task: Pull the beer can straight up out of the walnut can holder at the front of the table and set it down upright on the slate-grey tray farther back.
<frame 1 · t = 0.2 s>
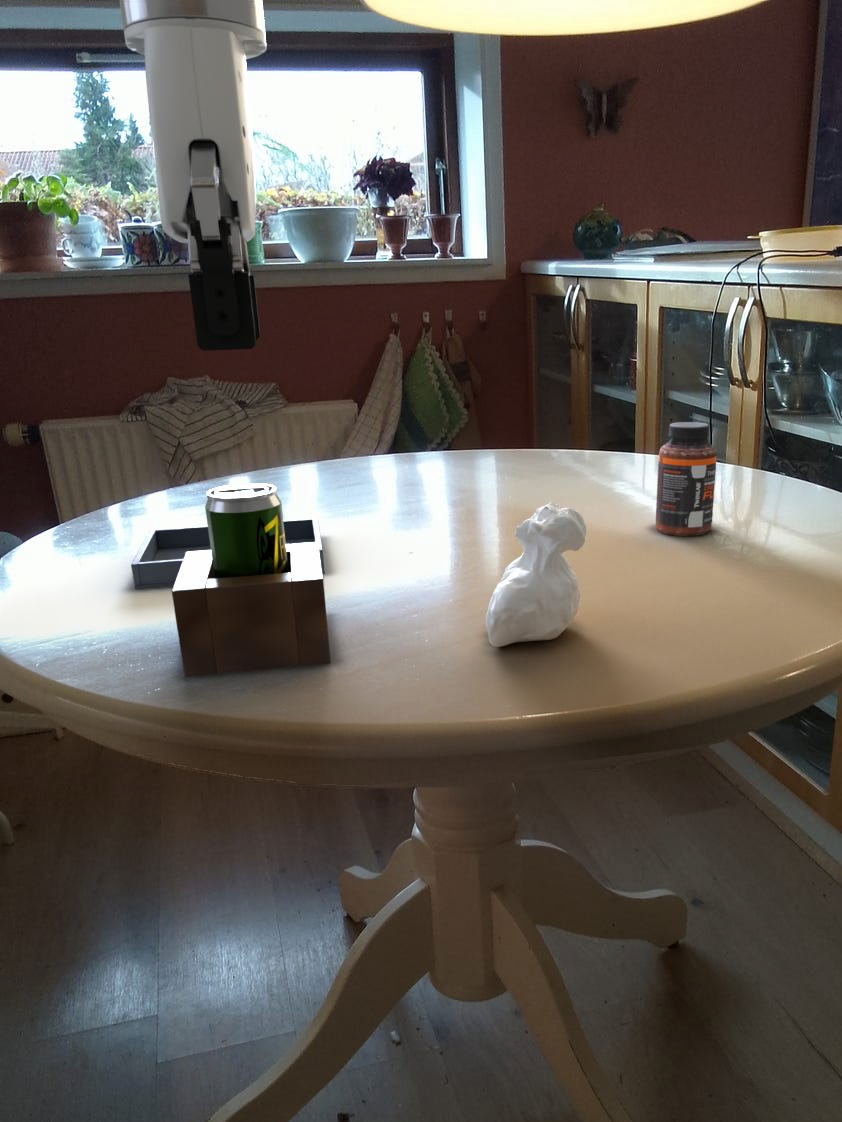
hand: (232, 344, 57), 22 cm above the table, tool pointing down, fingers open, 9 cm apart
can holder: (260, 646, 70), on the table
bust: (536, 636, 71), on the table
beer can: (260, 648, 70), resting in can holder
tray: (235, 563, 92), on the table
supplement bottle: (683, 532, 99), on the table
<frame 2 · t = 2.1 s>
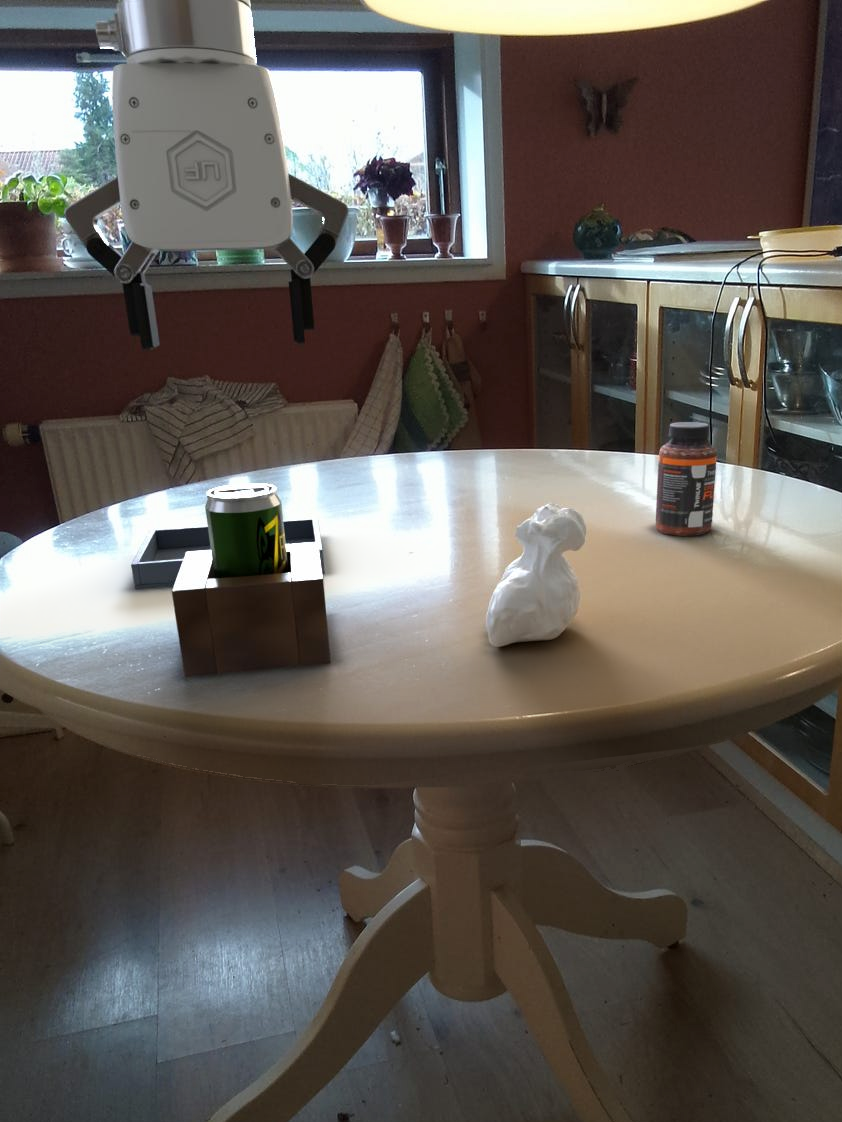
hand: (226, 345, 61), 22 cm above the table, tool pointing down, fingers open, 9 cm apart
nothing on the table moved.
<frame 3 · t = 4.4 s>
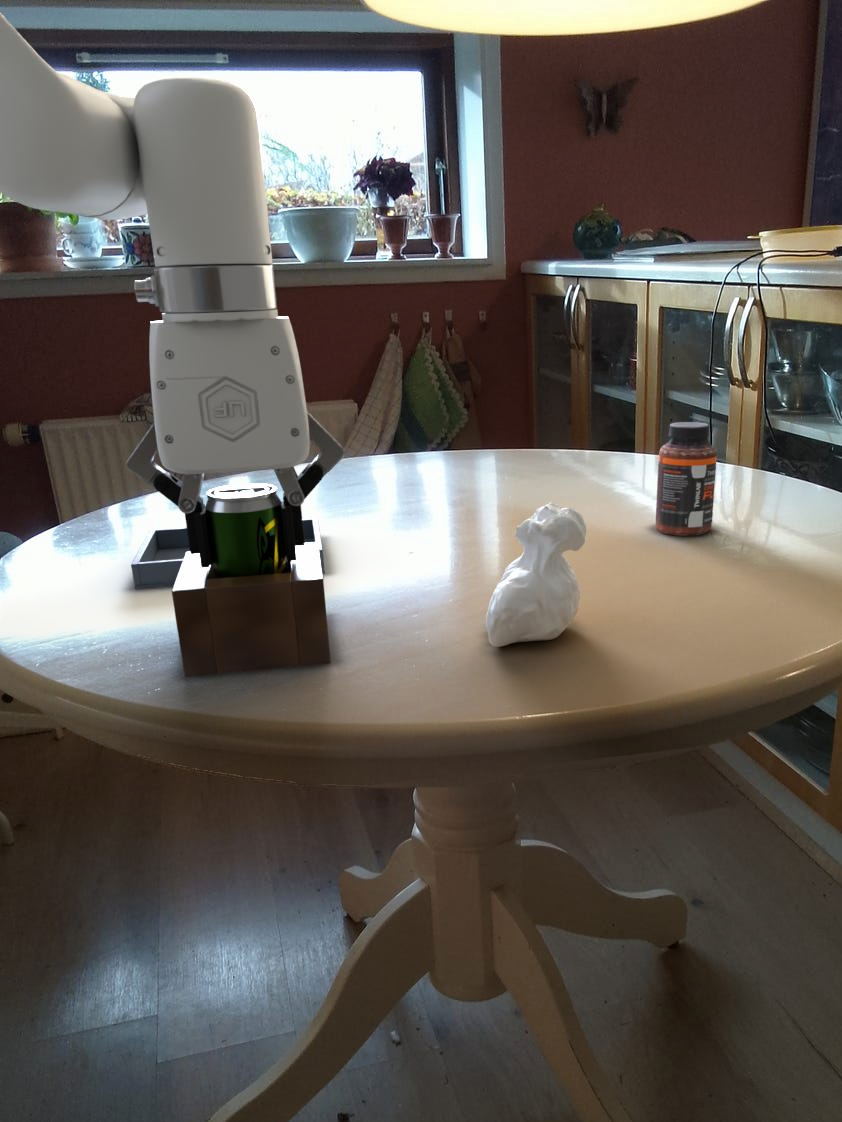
hand: (249, 556, 68), 7 cm above the table, tool pointing down, fingers closed on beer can, 5 cm apart
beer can: (260, 648, 70), resting in can holder, touching gripper
everything else where it was.
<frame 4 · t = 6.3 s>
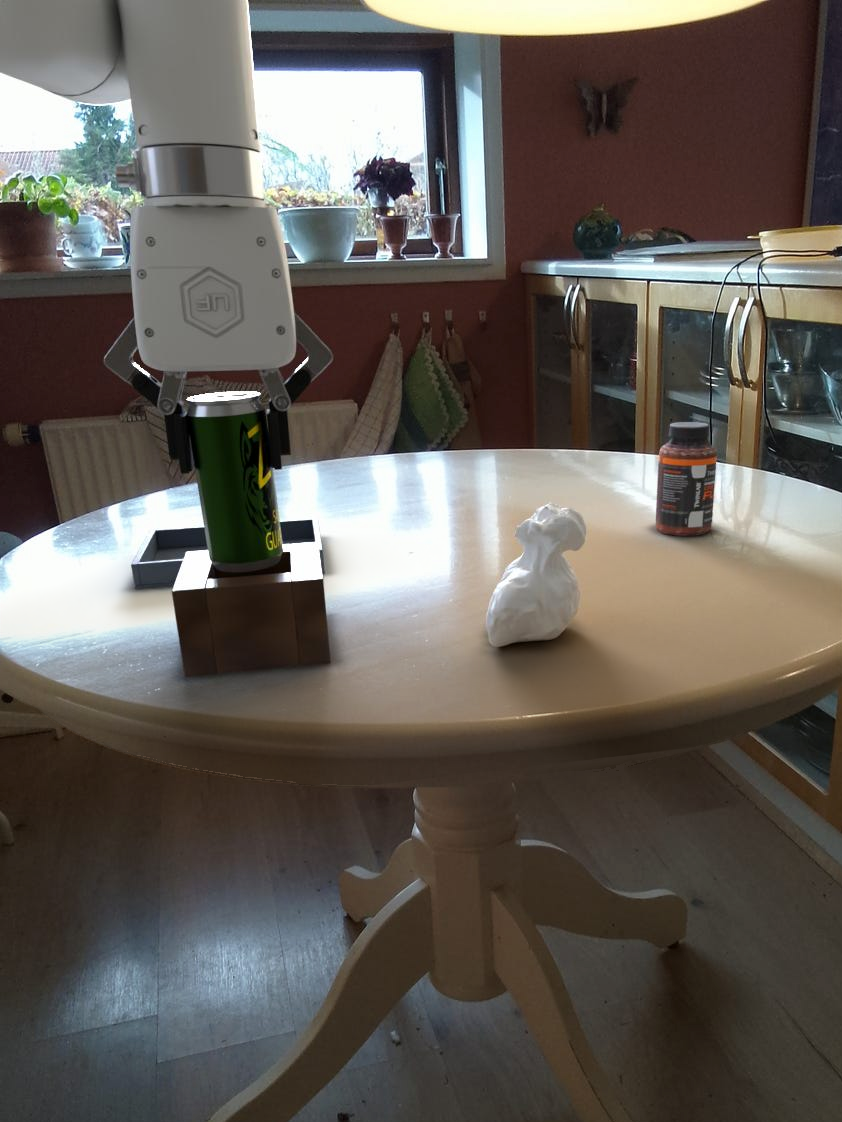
hand: (232, 465, 65), 14 cm above the table, tool pointing down, fingers closed on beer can, 5 cm apart
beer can: (248, 565, 68), point 6 cm above the table, touching gripper
everything else where it was.
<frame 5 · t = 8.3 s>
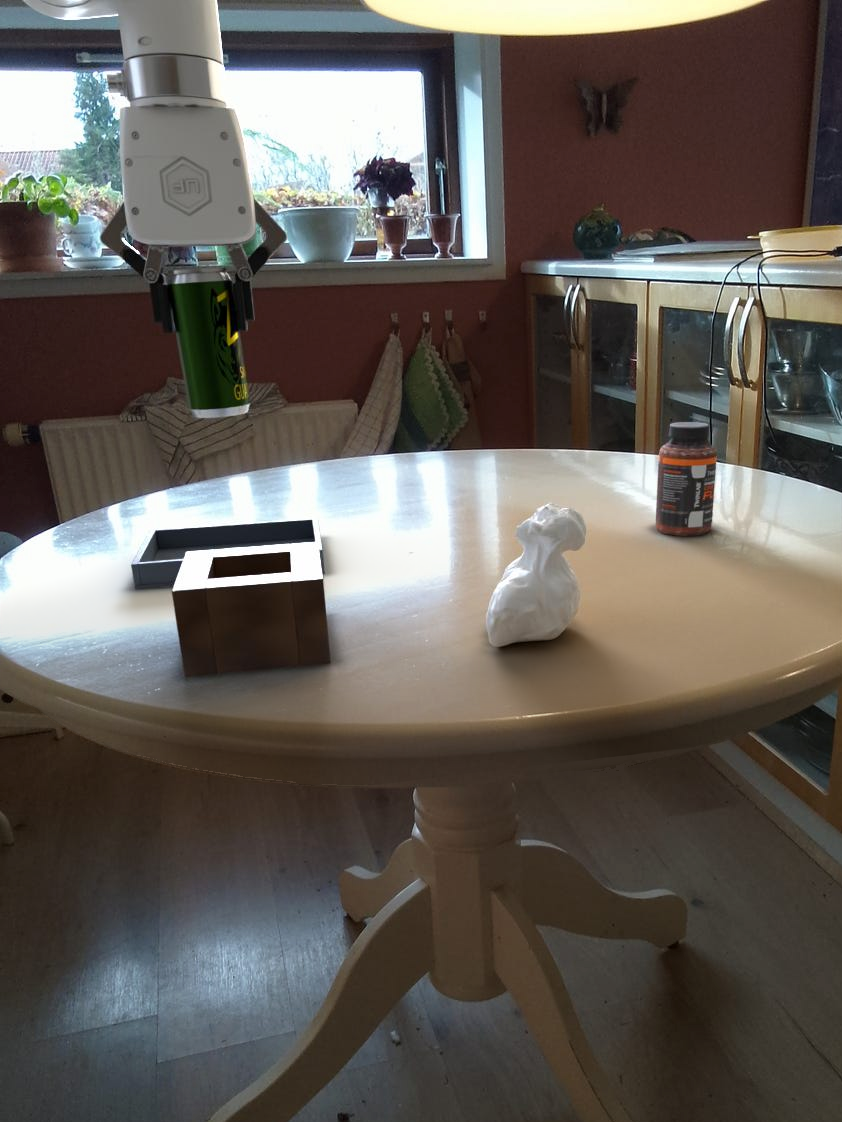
hand: (206, 329, 80), 22 cm above the table, tool pointing down, fingers closed on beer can, 5 cm apart
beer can: (221, 416, 83), point 15 cm above the table, touching gripper
everything else where it was.
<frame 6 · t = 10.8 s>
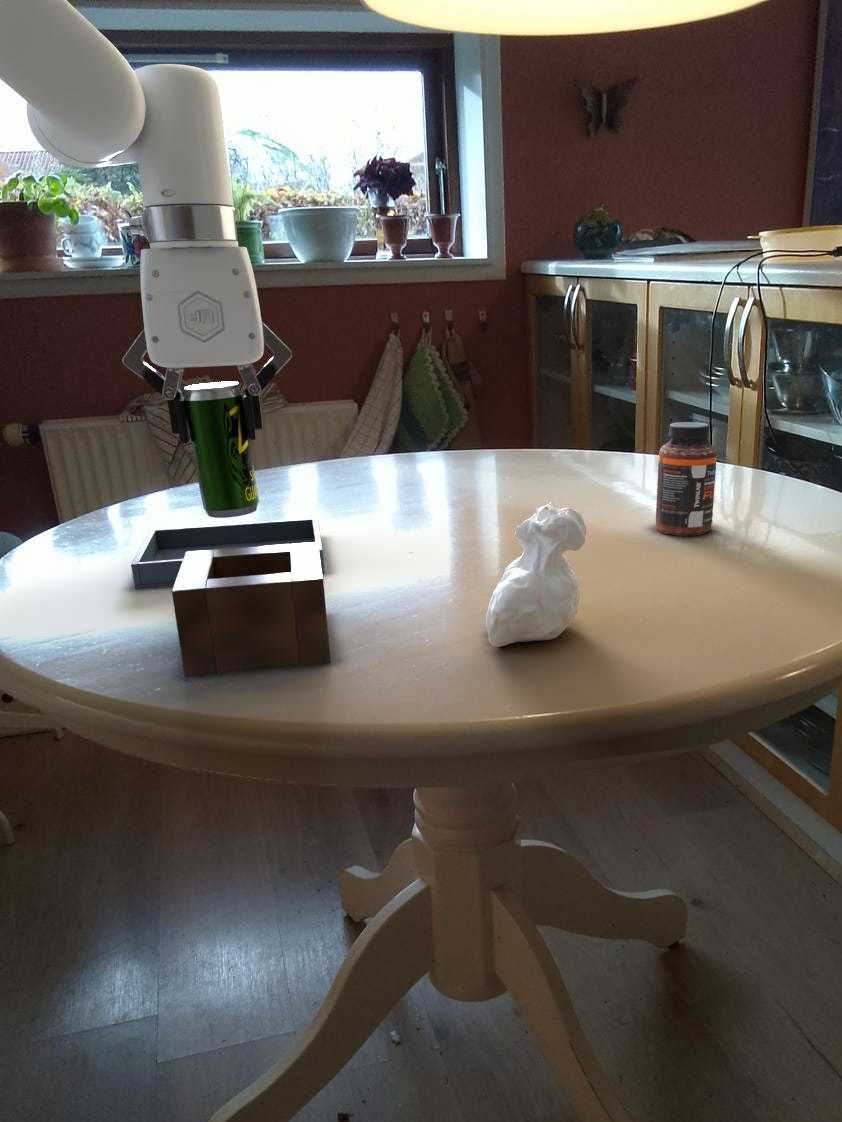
hand: (219, 437, 87), 12 cm above the table, tool pointing down, fingers closed on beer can, 5 cm apart
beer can: (233, 513, 90), point 5 cm above the table, touching gripper
everything else where it was.
when the fingers open (8 cm above the table, at t = 12.5 s): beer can stays where it is, resting on tray.
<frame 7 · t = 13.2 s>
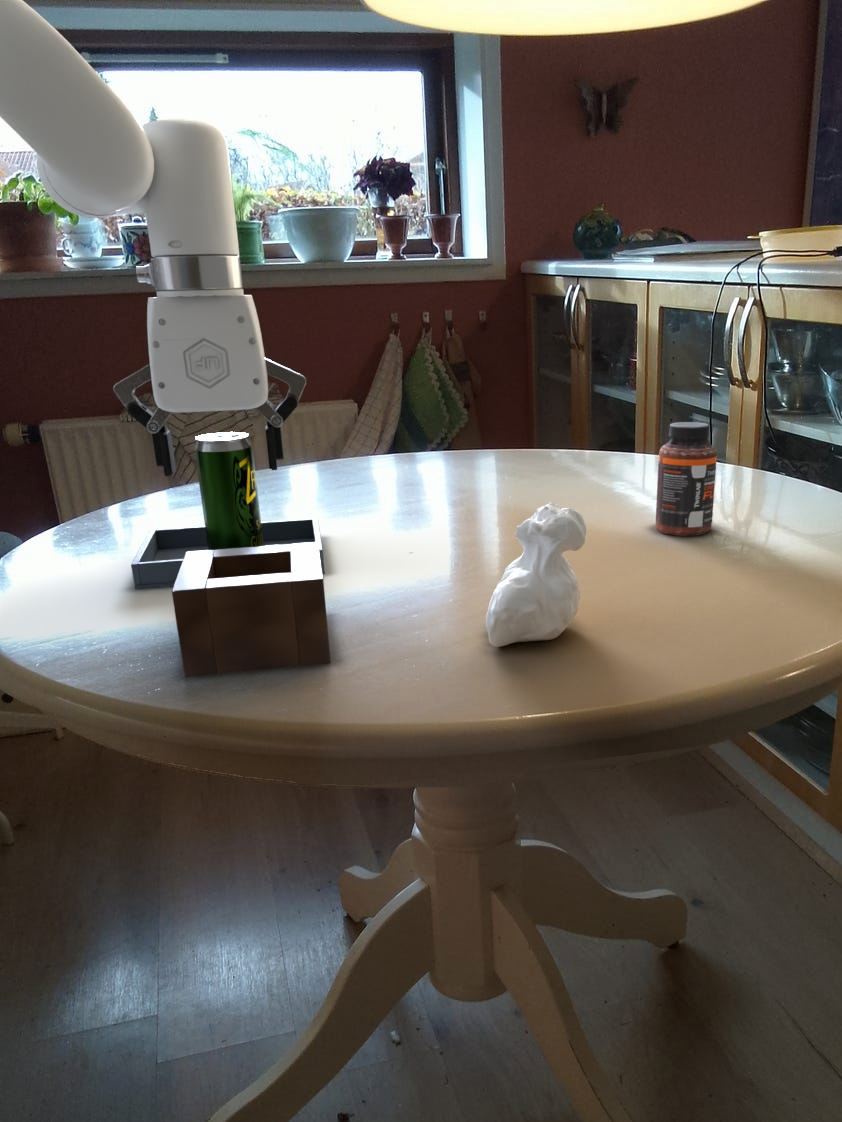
hand: (222, 470, 89), 9 cm above the table, tool pointing down, fingers open, 9 cm apart
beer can: (237, 560, 92), resting on tray
everything else where it was.
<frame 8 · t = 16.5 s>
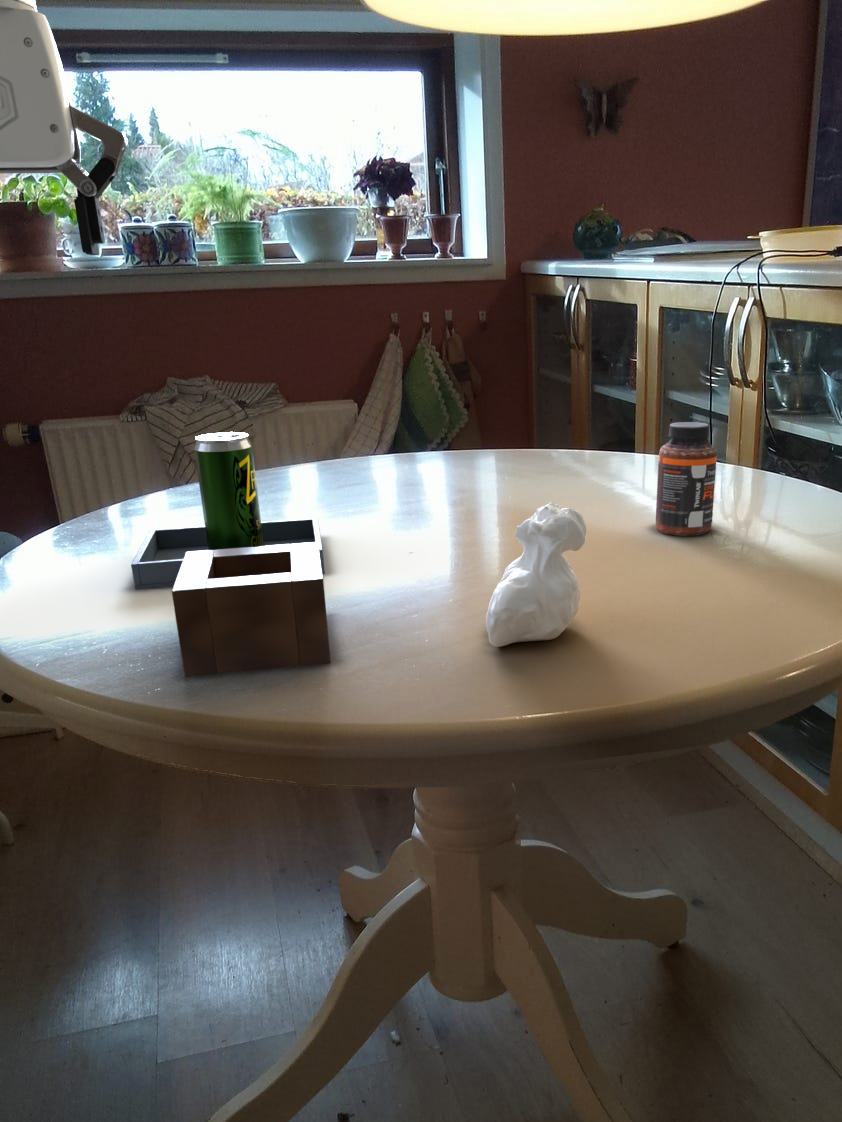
hand: (26, 255, 71), 28 cm above the table, tool pointing down, fingers open, 9 cm apart
nothing on the table moved.
at the end: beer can inside the target area in the tray (0.3 cm from its centre), point 0.3 cm above the tray's base; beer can tilted 0°; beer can moved 24.2 cm from its start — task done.
